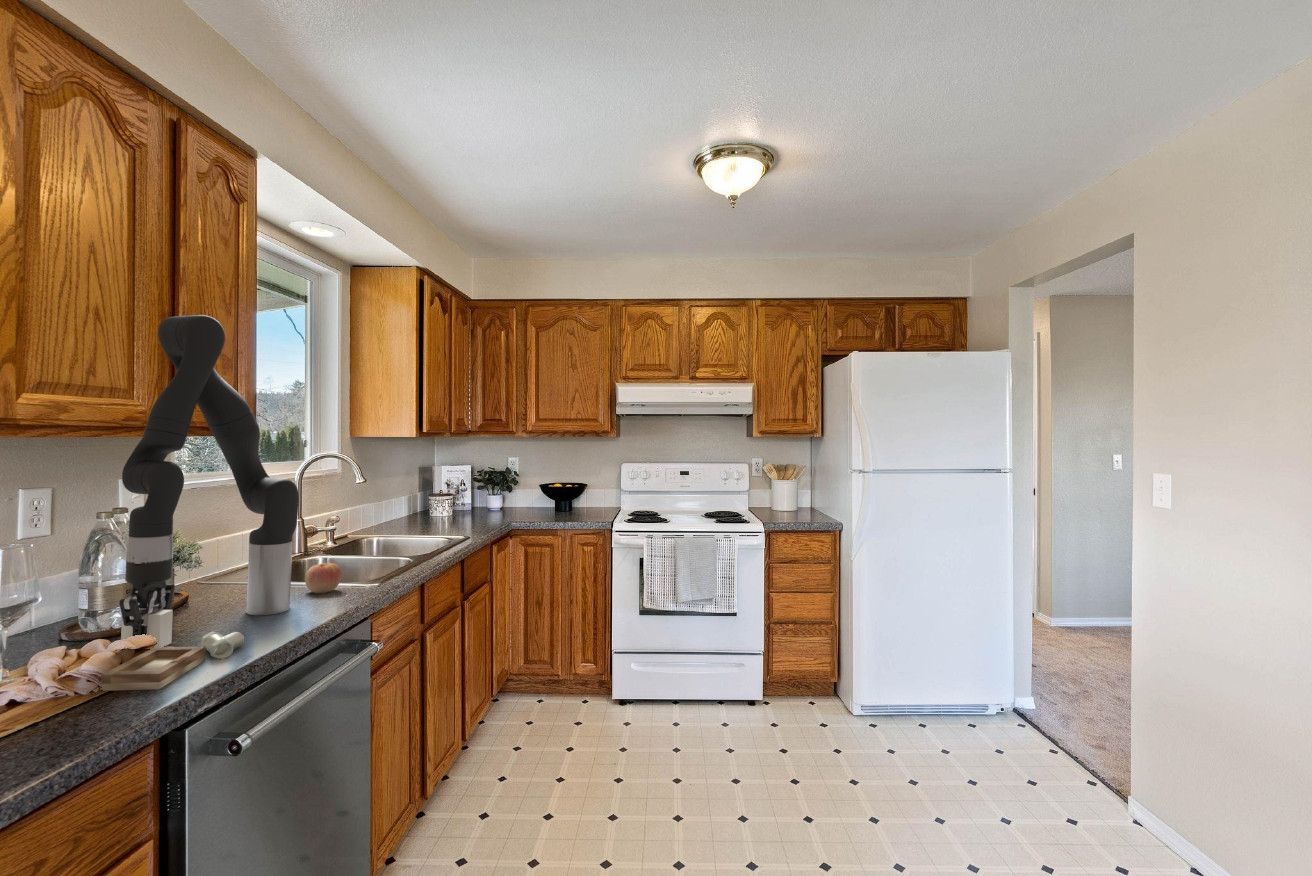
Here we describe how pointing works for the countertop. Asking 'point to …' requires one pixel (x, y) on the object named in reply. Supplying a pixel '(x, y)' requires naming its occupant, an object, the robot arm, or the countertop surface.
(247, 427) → the robot arm
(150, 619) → the white rectangular block
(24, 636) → the countertop surface
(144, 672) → the shallow brown rectangular tray
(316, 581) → the apple
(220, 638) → the pipe fitting
